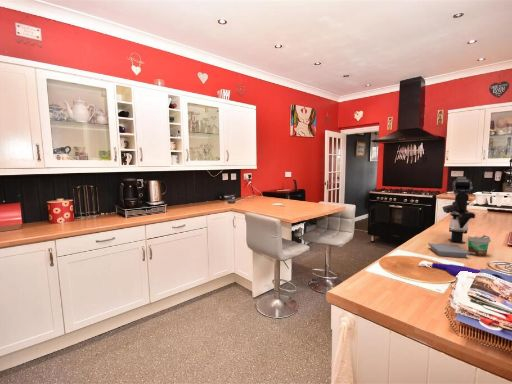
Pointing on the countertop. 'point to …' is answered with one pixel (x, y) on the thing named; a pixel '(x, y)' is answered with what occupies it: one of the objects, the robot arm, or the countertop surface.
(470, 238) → the food container
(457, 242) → the robot arm
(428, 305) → the countertop surface
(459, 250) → the stand
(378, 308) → the countertop surface
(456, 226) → the housing
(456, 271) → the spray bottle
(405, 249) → the countertop surface
